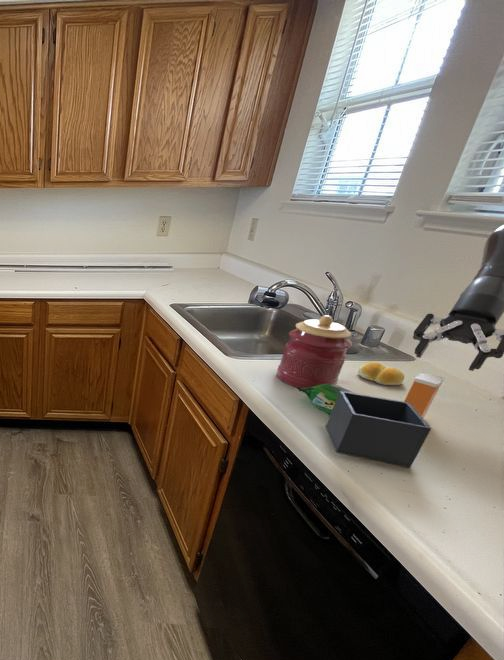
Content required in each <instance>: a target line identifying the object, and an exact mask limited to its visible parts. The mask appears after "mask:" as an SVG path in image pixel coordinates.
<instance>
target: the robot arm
mask: <svg viewBox="0 0 504 660" xmlns="http://www.w3.org/2000/svg"><path fill="white" fill-rule="evenodd" d="M503 314H504V224H502V225H500V226H499V227H497V228H496V229H494V230H493V231H492V232H491V233H490V234H489V236H488V237H487V239H486V241H485V242H484V246H483V251H482V257H481V262H480V267H479V269H478V271H477V273H476V274H475V275H474V277H473V279H472V280H471V282H470V283H469V284H468V285H467V286H466V288H464V290H463V291H462V292H461V294H460V295H459V297H458V299H457V301H456V302H455V303H454V305H453V306H452V308H451V309H450V311H449V313H448V314H447V316H444V317H443V318H442V317H437V316H435V315H434V313H427V314H426V315H425V317H423V319H422V320H421V322H420V323H419V324H418V325H417V327H416V328H415V330H414V331H413V336H412V340H414V341H415V340H416V341H419V342H418V344H417V345H416V347H415V348H414V355H415V358H418V359H420V358H422V356H423V355H424V353H425V352H426V350H427V349H428V347H429V345H430V344H431V343H433V342H438V341H443V340H445V339H447V340H448V341H451V342H460V343H462V344H466V345H468V344H471V345H472V346H473V348H474V350H476V351H477V354H476V355H475V358H474V359H473V360H472V362H471V364H470V365H469V368H468V371H471V372H473V371H475V370H480V369H481V368H482V366H483V365H484V364H485V362H486V360H487V359H488V358H495V359H501V358H502V357H503V356H504V329H499V328H496V325H498V322H499V321H500V320H501V318H502V316H503ZM435 325H439V327H438V328H436V329H434V330H432V331H430V332H428V333H427V332H426V331H427V330H428V329H429V327H430V328H431V327H434V326H435ZM425 332H426V333H425ZM492 336H495V337H496V341H498V342H499V343H498V345H497V347H496V348H491V347H490V346H489V344H488V339H487V338H489V337H492Z"/></svg>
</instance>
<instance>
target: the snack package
mask: <svg viewBox="0 0 504 660" xmlns="http://www.w3.org/2000/svg"><path fill="white" fill-rule="evenodd" d="M299 391H300V392H302V393H303V394H304V395H306V397H307V399H308V400H309V402H310V403H311V404H312V405H314V406H315V407H317V408H318V409H320V410H322V411H324V412H326V413H328V414H329V415H330V414H331V412H332V409H333V407H334V404H335V402H336V399H337V397H338V394H339V392H340V391H343V392H349V393H355V394H357V393H356V392H353V391H352V390H349V389H347V388H345V387H342V386H340V385H337V384H336V385H334V384H322V385H316V386H314V387H310V388H298V392H299Z"/></svg>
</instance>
